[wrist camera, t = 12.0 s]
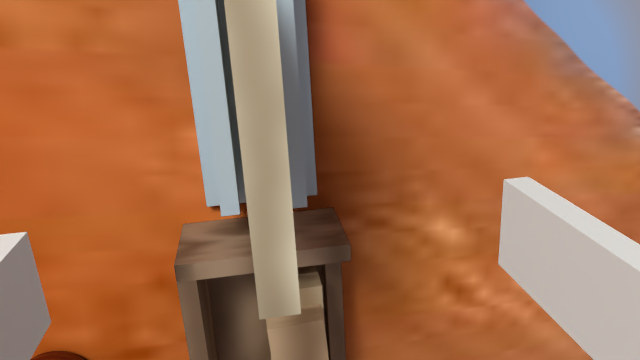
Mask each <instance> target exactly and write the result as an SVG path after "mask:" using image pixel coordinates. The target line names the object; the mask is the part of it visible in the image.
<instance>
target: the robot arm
mask: <svg viewBox="0 0 640 360" xmlns="http://www.w3.org/2000/svg"><path fill="white" fill-rule="evenodd" d="M498 264H499V265H500V266H501V267H502V268H503V269H504V270H505V271H506V272H507V273H508V274H509V275H510V276H511V277H512V278H513V279H514V280H515V281H516V282H517V283H518V284H519V285H520V286H521V287H522V288H523V289H524V290H525V291H526V292H527V293H528V294H529V295H530V296H531V297H532V298H533V299H534V300H535V301H536V302H537V303H538V304H539V305H540V306H541V307H542V308H543V309H544V310H545V311H546V312H547V313H548V314H549V315H550V316H551V317H552V318H553V319H554V320H555V321H556V322H557V323H558V324H559V325H560V326H561V327H562V328H563V329H564V330H565V331H566V332H567V333H568V334H569V335H570V336H571V337H572V338H573V339H574V340H575V341H576V342H577V343H578V344H579V345H580V346H581V347H582V348H583V350H584V351H585V352H586V353H587V354H588V355H589V356H590V357H591V358H592V359H593V360H640V244H638V243H636V242H634V241H633V240H631V239H630V238H628V237H626V236H625V235H623V234H621V233H620V232H618V231H616V230H615V229H613V228H612V227H610V226H608V225H607V224H605V223H603V222H602V221H600V220H598V219H597V218H595V217H593V216H592V215H590V214H589V213H587V212H585V211H584V210H582V209H580V208H579V207H577V206H575V205H574V204H572V203H571V202H569V201H567V200H566V199H564V198H562V197H561V196H559V195H557V194H556V193H554V192H552V191H551V190H549V189H548V188H546V187H544V186H543V185H541V184H539V183H538V182H536V181H534V180H533V179H531V178H530V177H523V178H514V179H505V180H504V184H503V200H502V215H501V231H500V246H499V262H498ZM50 323H51V320H50V316H49V312H48V309H47V305H46V301H45V297H44V294H43V290H42V286H41V282H40V279H39V275H38V271H37V268H36V264H35V260H34V256H33V253H32V249H31V245H30V241H29V238H28V234H27V232H22V233H13V234H4V235H0V360H30V359H31V357H32V355H33V353H34V352H35V350H36V348H37V346H38V345H39V343H40V341H41V339H42V338H43V336H44V334H45V332H46V330H47V329H48V327H49V325H50Z"/></svg>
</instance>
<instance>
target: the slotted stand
mask: <svg viewBox="0 0 640 360" xmlns="http://www.w3.org/2000/svg"><path fill="white" fill-rule="evenodd" d="M178 2H179V9H180V17H181V24H182V31H183V38H184V45H185V52H186V60H187V67H188V74H189V81H190V88H191V96H192V103H193V110H194V117H195V124H196V131H197V139H198V146H199V153H200V160H201V167H202V175H203V182H204V189H205V196H206V203H207V207H209V206H218V205H220V210H221V216H230V215H239V214H240V203H246V194H245V185H244V176H243V167H242V158H241V149H240V140H239V131H238V122H237V113H236V104H235V95H234V86H233V77H232V68H231V59H230V50H229V41H228V32H227V23H226V14H225V5H224V0H178ZM276 6H277V19H278V31H279V44H280V56H281V69H282V81H283V94H284V106H285V119H286V131H287V144H288V156H289V169H290V181H291V194H292V207H293V208H302V207H308V206H307V196H311V195H317V181H316V165H315V149H314V133H313V117H312V101H311V85H310V68H309V52H308V36H307V20H306V4H305V0H276Z"/></svg>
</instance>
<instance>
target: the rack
mask: <svg viewBox="0 0 640 360" xmlns="http://www.w3.org/2000/svg"><path fill="white" fill-rule="evenodd" d="M293 219H294V232H295V244H296V257H297V268H298V267H306V266H314V265H316V269H317V272H318V274H319V277H320V281H321V284H322V293H323V309H324V324H325V332H326V340H327V348H328V357H329V360H346V353H345V332H344V312H343V291H342V270H341V262H346V261H351V244H350V242H349V240H348V238H347V236H346V234H345V231H344V229H343V227H342V225H341V223H340V221H339V219H338V216H337V214H336V212H335V210H334V208H333V207H332V208H323V209H314V210H305V211H297V212H293ZM174 269H175V275H176V281H177V286H178V292H179V298H180V304H181V310H182V316H183V322H184V328H185V334H186V340H187V346H188V352H189V357H190V360H272V359H271V351H270V345H269V339H268V333H267V325H266V319H261V320H260V319H259V310H258V301H257V292H256V283H255V274H254V265H253V257H252V248H251V239H250V230H249V221H248V217H243V218H234V219H225V220H216V221H207V222H198V223H189V224H183V228H182V232H181V237H180V241H179V246H178V250H177V255H176V259H175V264H174Z"/></svg>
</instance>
